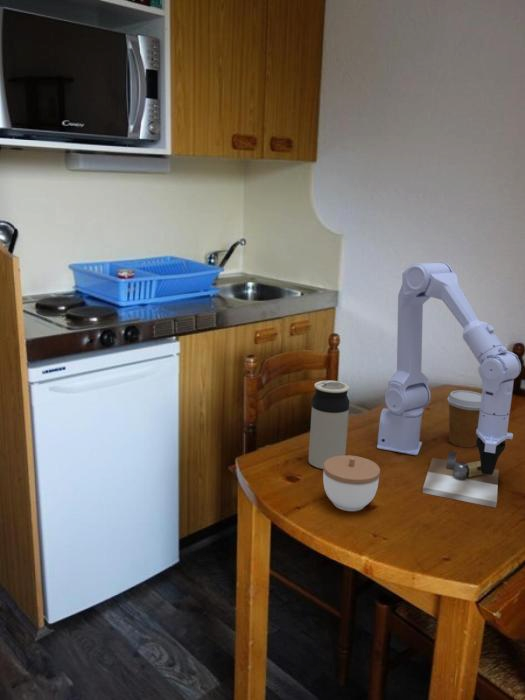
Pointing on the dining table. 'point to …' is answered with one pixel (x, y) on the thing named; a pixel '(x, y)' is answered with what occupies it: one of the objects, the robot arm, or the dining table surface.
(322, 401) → the travel mug
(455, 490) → the door edge board
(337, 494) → the lidded jar
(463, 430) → the disposable coffee cup
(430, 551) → the dining table surface
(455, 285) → the robot arm
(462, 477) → the bar
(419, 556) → the dining table surface
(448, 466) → the keeper block
